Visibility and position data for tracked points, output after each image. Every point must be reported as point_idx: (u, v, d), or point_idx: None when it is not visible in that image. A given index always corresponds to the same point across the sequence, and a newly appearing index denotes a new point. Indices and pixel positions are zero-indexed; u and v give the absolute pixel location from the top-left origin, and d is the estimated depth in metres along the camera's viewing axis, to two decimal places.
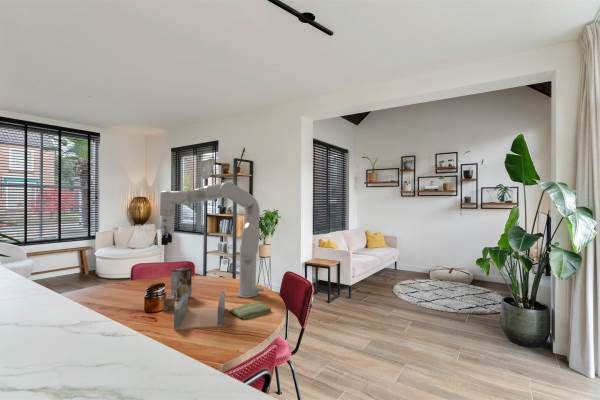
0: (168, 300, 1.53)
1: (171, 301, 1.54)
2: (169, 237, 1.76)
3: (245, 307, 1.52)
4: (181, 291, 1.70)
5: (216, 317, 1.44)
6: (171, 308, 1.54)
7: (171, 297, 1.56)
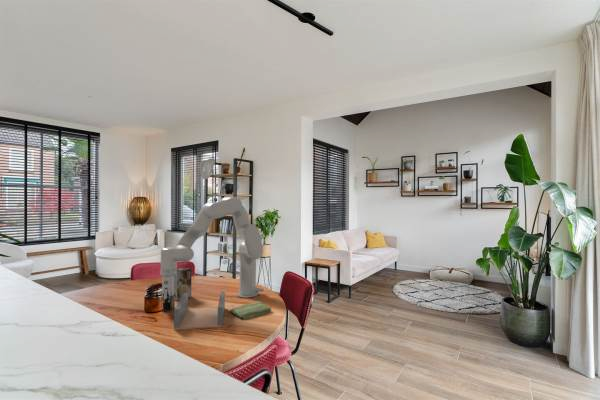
0: None
1: (171, 301, 1.54)
2: None
3: (245, 307, 1.53)
4: (181, 291, 1.70)
5: (216, 317, 1.44)
6: (171, 308, 1.54)
7: (171, 297, 1.56)
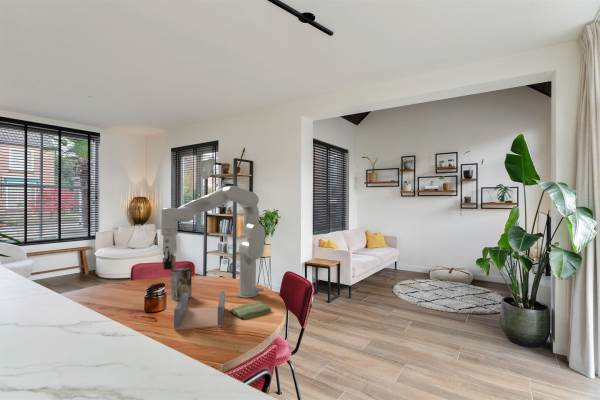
0: None
1: (172, 260, 1.54)
2: None
3: (245, 307, 1.53)
4: (181, 291, 1.70)
5: (216, 317, 1.44)
6: (172, 267, 1.54)
7: (172, 257, 1.56)
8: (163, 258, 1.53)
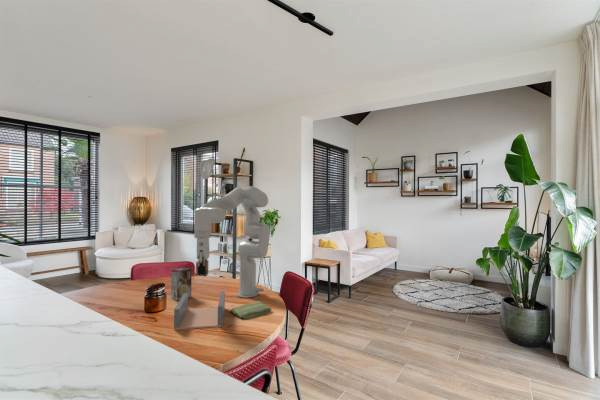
0: None
1: (206, 265, 1.42)
2: None
3: (245, 307, 1.53)
4: (181, 291, 1.70)
5: (216, 317, 1.44)
6: (206, 272, 1.42)
7: (205, 261, 1.44)
8: (196, 263, 1.42)
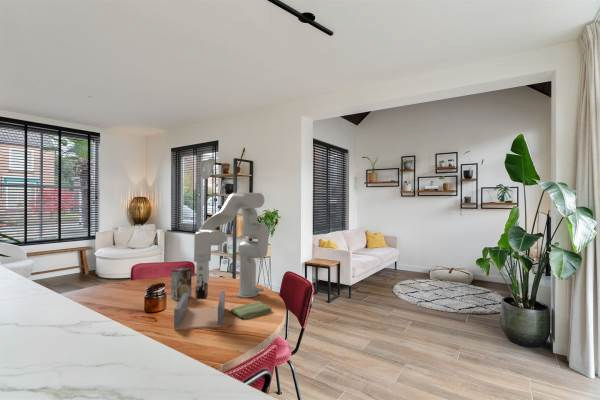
0: None
1: (205, 289, 1.42)
2: None
3: (245, 307, 1.53)
4: (181, 291, 1.70)
5: (216, 317, 1.44)
6: (205, 296, 1.42)
7: (205, 284, 1.44)
8: (196, 286, 1.41)
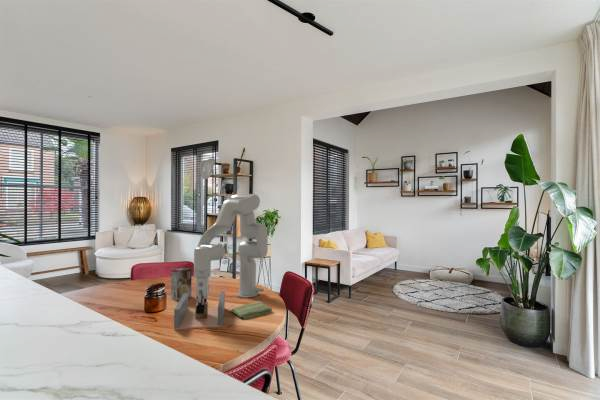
0: None
1: (205, 308, 1.42)
2: (203, 300, 1.49)
3: (246, 307, 1.53)
4: (181, 291, 1.70)
5: (216, 317, 1.44)
6: (205, 316, 1.42)
7: (205, 304, 1.44)
8: (196, 306, 1.42)
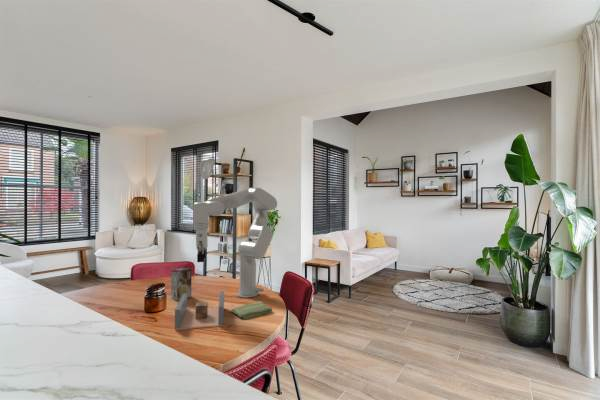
0: (202, 307, 1.42)
1: (205, 308, 1.42)
2: (202, 252, 1.61)
3: (246, 307, 1.53)
4: (181, 291, 1.70)
5: (216, 317, 1.44)
6: (205, 316, 1.42)
7: (205, 304, 1.44)
8: (196, 306, 1.42)
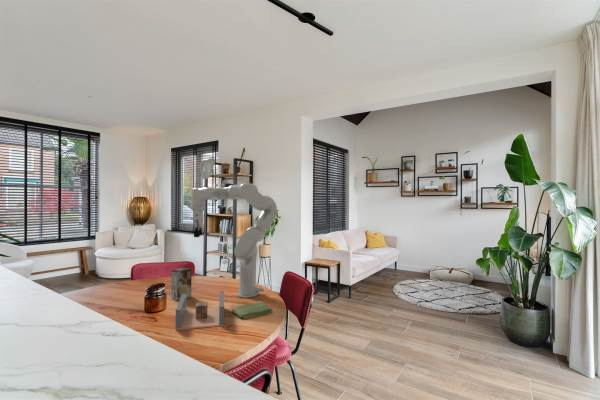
0: (203, 307, 1.42)
1: (205, 308, 1.42)
2: (199, 230, 1.92)
3: (246, 307, 1.53)
4: (181, 291, 1.70)
5: (216, 317, 1.44)
6: (205, 316, 1.43)
7: (205, 304, 1.44)
8: (196, 306, 1.41)
